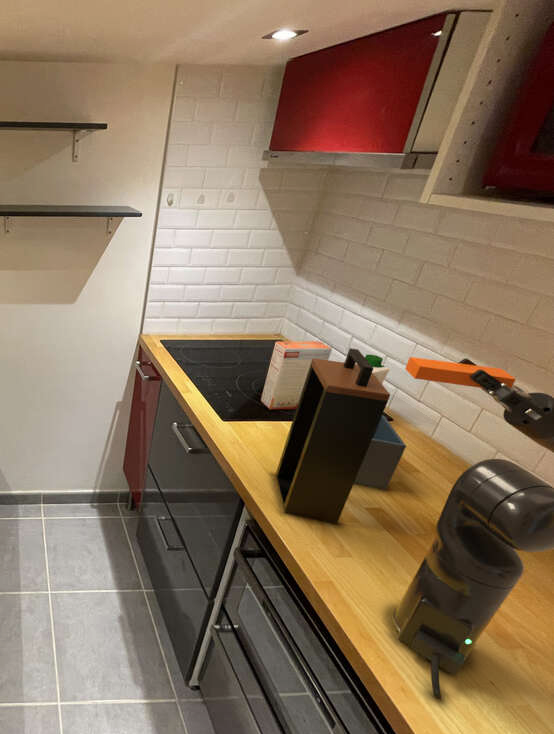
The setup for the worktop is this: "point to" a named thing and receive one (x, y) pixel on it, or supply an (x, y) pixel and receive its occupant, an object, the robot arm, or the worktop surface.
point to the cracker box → (290, 372)
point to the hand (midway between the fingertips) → (468, 368)
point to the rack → (329, 436)
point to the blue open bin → (381, 457)
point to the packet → (453, 372)
